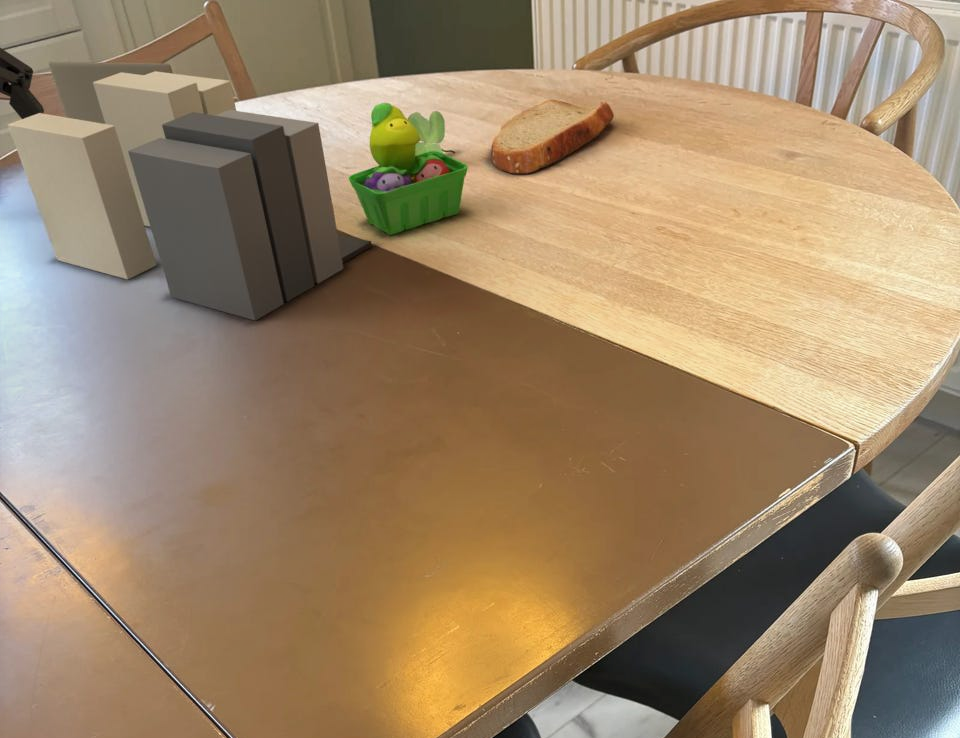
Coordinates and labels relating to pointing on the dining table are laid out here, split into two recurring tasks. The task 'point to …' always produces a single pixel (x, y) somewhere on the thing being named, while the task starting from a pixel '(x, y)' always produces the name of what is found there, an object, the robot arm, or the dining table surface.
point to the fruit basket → (406, 177)
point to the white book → (84, 193)
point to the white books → (156, 107)
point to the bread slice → (546, 135)
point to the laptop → (91, 84)
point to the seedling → (429, 132)
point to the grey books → (241, 210)
